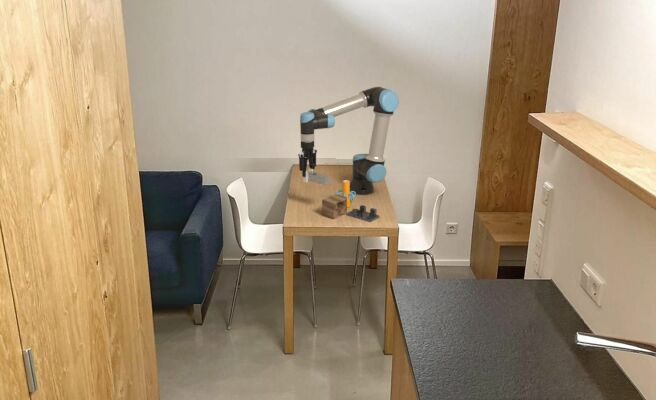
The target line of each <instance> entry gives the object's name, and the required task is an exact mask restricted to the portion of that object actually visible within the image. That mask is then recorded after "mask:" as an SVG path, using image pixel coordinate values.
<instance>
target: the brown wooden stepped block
mask: <svg viewBox="0 0 656 400" xmlns="http://www.w3.org/2000/svg"><path fill="white" fill-rule="evenodd" d="M340 195H341V194H340ZM340 195H337V193H335V194H333V195H331V196H328V197H326V198H323V199H321V200H322V202H321V216H322V217H325V218H327V219H331V220H336V219H338V218H340V217H342V216H344V215H346V213H348V207H347V197H344V196H342V195H341V196H340Z"/></svg>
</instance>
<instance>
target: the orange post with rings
mask: <svg viewBox="0 0 656 400" xmlns="http://www.w3.org/2000/svg"><path fill="white" fill-rule="evenodd" d="M350 184H351V180H348V179H345V180H342V189H339V190H338V192H337V193H336V194H337V195H340V196H344V197H347V208H350V207H351V206H352V201H354V200H355V198H356V196H357V194H356V193H355V192H354V191H351V192H350ZM352 192H354V193H352Z"/></svg>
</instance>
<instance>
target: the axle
mask: <svg viewBox="0 0 656 400" xmlns="http://www.w3.org/2000/svg"><path fill="white" fill-rule="evenodd" d="M307 181H308V182H311V183H316V184H319V185H324V186H326V185H328V184H330V183H331V176H330V175H328V174H323V173H319V172H316V171H313V172H311V171H309V170H307Z"/></svg>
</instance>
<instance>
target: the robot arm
mask: <svg viewBox="0 0 656 400" xmlns="http://www.w3.org/2000/svg"><path fill="white" fill-rule="evenodd" d="M399 98H400V97H399V96H398V94H397V93H396V92H395V91H393V90H391V89H388V88H384V87H383V86H382V87H381V86H374V87H371V88H368V89H365V90H362V91H359V93H358V94H356V95H354V96H351V97H347V98H345V99H342V100H339V101H336V102H334V103H331V104H328V105H325V106H323V107H319V108H317V109H314V108H311V109H309V110H308V111H307V112H305V111H303V112H302V113H300V117H299V122H300V124H299V127H300V140H301V141H300V148H301V152H300V153H298V155H297V156H298V165H299V171H301V172H302V173H301V174H302V182H303V183H306V184H307V183H308V182H309V181H307V172H308V171H311V172H314V170H315V169H316V167H317V153H318V150H317V149H314V148H315V130H323V129H331V128H334V126H335V125H336V118H335V117H338V116H342V115H344V114H346V113H349V112H352V111H355V110H358V109H361V108H364V109H365V108H368V107H373V110H372V112H373V113H374V119H373V120H374V121H373V126H372V132H371V138H370V144H369V151H368V153H357V154H355V155H353V156H352V157H353V158H352V176H351V177H352V179H351V180H350V192H351V191H354V192H355V193H356V195H369V194H372V193H374V190H375V186H374V184H373V183H375V184H377V183H380V182H381V181H383V180H384V179H385V178H386V176H387V168H386V166H385V162H386V160H385V159H384V154H385V153H384V152H385V148H386V143H387V142H386V141H387V136H388V130H389V124H390V119H391V117H392V116H393V115H394V112H395V111H396V109H397V108H398V107H399V104H400V99H399ZM308 166H309V168H308ZM307 168H308V170H307ZM354 192H352V194H354Z"/></svg>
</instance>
